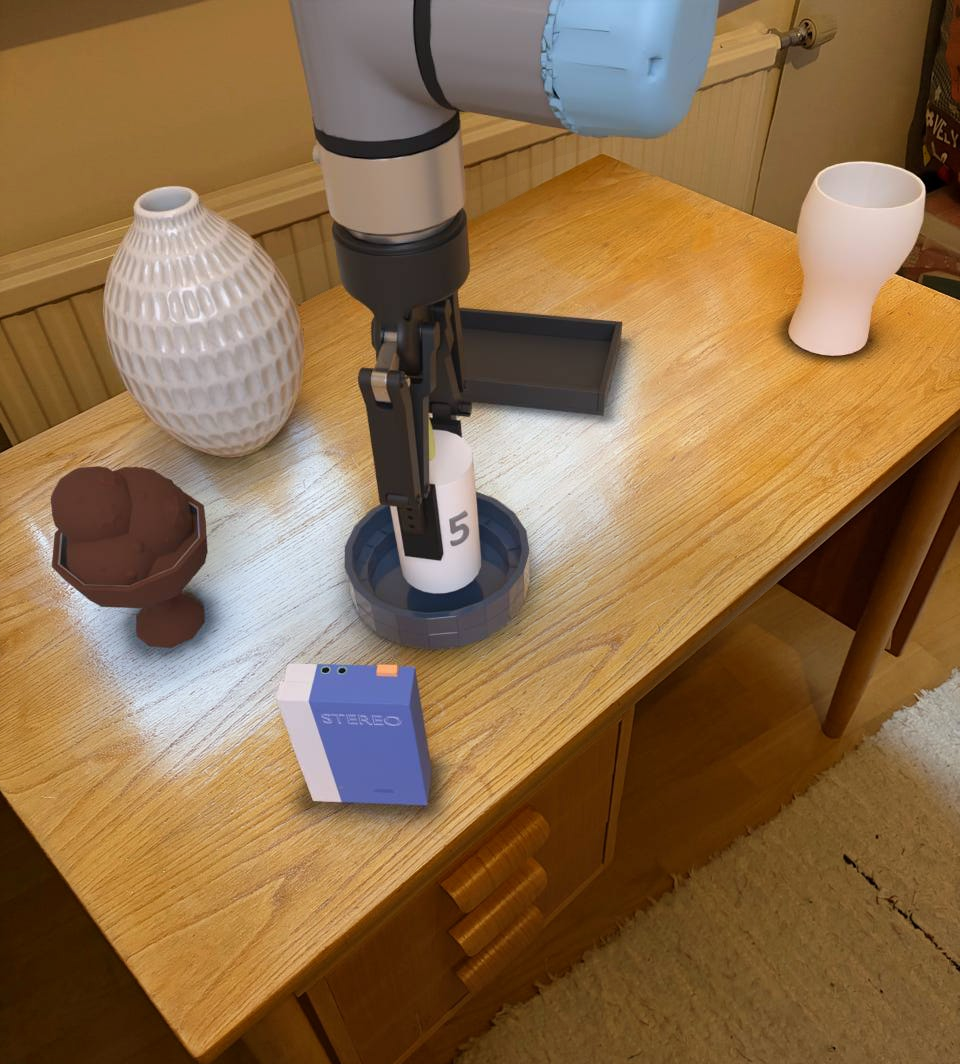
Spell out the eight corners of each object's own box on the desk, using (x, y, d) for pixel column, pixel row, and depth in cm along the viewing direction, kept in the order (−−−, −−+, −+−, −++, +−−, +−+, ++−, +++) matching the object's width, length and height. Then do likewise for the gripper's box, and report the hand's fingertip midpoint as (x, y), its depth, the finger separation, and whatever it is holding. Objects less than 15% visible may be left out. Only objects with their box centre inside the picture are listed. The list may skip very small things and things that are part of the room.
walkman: (432, 770, 62) (414, 662, 53) (427, 806, 60) (408, 701, 51) (319, 765, 63) (282, 658, 53) (311, 801, 61) (272, 696, 52)
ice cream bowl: (158, 700, 67) (80, 556, 55) (73, 627, 72) (-15, 482, 60) (267, 614, 72) (216, 466, 60) (180, 552, 76) (118, 404, 65)
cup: (755, 343, 92) (787, 193, 80) (800, 296, 97) (837, 149, 86) (856, 377, 88) (906, 224, 76) (898, 326, 93) (950, 175, 81)
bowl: (543, 534, 76) (544, 498, 73) (507, 665, 67) (506, 631, 64) (382, 513, 78) (376, 477, 75) (328, 637, 70) (318, 602, 67)
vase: (121, 433, 87) (21, 200, 70) (264, 364, 94) (204, 135, 76) (207, 517, 79) (117, 277, 62) (356, 435, 85) (312, 197, 68)
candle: (432, 607, 68) (408, 449, 57) (385, 559, 72) (354, 401, 60) (499, 569, 70) (489, 408, 59) (451, 524, 74) (433, 364, 62)
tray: (620, 343, 93) (622, 321, 91) (603, 415, 86) (604, 393, 84) (440, 326, 97) (438, 305, 95) (408, 394, 89) (406, 373, 87)
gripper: (384, 136, 56) (423, 436, 74) (269, 299, 45) (347, 610, 62) (502, 140, 55) (512, 446, 73) (415, 311, 43) (453, 625, 61)
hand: (436, 521), depth 67 cm, fingers closed on candle, 6 cm apart
